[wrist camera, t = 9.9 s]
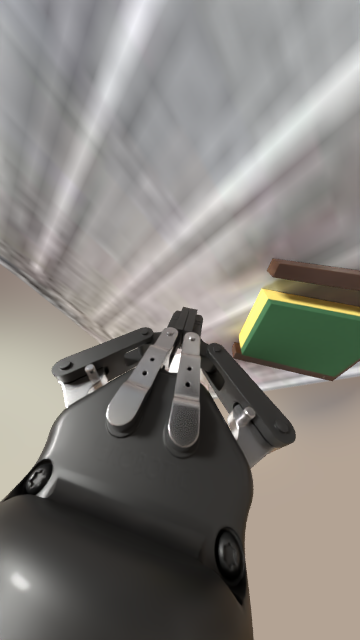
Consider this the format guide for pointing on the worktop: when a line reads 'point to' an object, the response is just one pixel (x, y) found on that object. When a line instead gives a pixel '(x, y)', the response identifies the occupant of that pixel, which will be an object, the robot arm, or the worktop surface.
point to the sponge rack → (309, 275)
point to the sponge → (302, 332)
